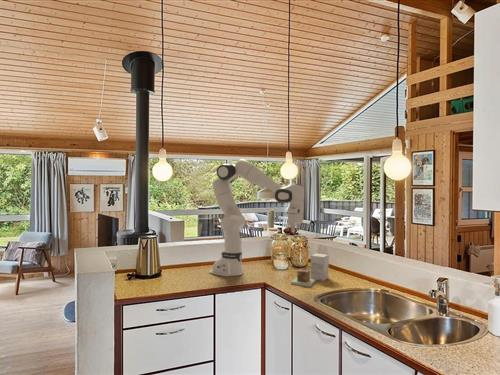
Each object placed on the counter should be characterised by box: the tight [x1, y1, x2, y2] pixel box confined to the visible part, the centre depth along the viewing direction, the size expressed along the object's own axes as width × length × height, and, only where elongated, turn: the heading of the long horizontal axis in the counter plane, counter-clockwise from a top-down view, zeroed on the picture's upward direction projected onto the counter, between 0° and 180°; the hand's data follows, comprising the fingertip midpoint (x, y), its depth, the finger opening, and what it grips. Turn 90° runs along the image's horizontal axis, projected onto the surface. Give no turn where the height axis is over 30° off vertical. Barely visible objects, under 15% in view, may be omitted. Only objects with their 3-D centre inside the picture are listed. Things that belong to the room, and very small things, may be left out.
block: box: [296, 268, 311, 282], centre depth 238 cm, size 6×6×6 cm
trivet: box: [290, 276, 317, 288], centre depth 238 cm, size 12×12×2 cm
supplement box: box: [310, 253, 330, 282], centre depth 249 cm, size 9×9×15 cm
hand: (295, 231), depth 246 cm, fingers open, 8 cm apart
